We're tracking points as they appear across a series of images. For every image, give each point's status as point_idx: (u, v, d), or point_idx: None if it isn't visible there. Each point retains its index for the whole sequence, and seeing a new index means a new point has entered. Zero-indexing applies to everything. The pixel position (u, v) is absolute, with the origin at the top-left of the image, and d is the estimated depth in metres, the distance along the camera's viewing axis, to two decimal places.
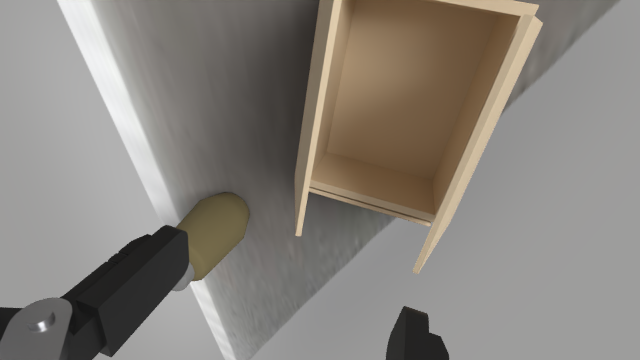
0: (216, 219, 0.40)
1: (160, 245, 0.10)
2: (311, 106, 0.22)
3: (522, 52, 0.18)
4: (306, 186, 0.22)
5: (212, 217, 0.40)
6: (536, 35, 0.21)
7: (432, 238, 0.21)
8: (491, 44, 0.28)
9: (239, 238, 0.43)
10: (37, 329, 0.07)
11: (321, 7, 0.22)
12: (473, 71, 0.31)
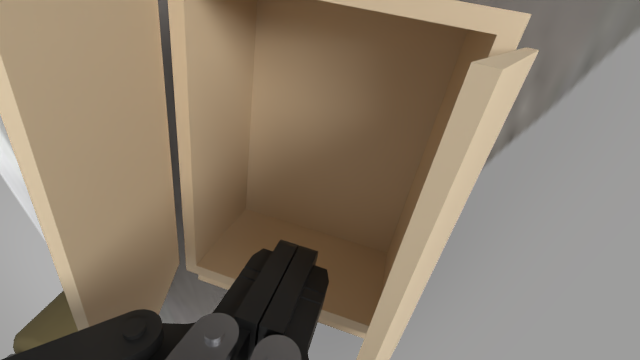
0: None
1: (285, 260, 0.11)
2: None
3: (488, 134, 0.07)
4: None
5: None
6: (526, 74, 0.11)
7: None
8: (457, 74, 0.17)
9: None
10: (217, 345, 0.08)
11: None
12: (435, 110, 0.20)
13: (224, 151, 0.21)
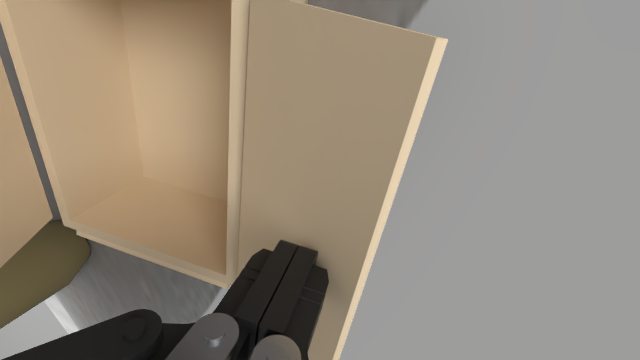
0: (10, 261, 0.31)
1: (285, 260, 0.11)
2: None
3: None
4: None
5: None
6: None
7: None
8: None
9: (59, 280, 0.35)
10: (216, 346, 0.08)
11: None
12: None
13: (93, 112, 0.23)
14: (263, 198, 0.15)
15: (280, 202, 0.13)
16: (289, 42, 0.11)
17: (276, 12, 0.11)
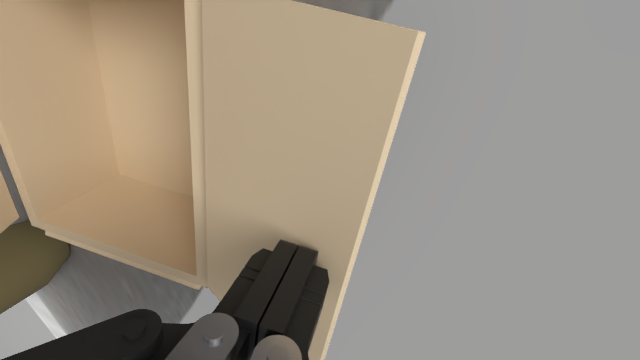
0: None
1: (285, 260, 0.11)
2: None
3: None
4: None
5: None
6: None
7: (323, 359, 0.14)
8: None
9: (36, 280, 0.34)
10: (216, 345, 0.08)
11: None
12: None
13: (59, 109, 0.22)
14: (233, 195, 0.15)
15: (256, 196, 0.13)
16: (255, 35, 0.11)
17: (236, 3, 0.11)
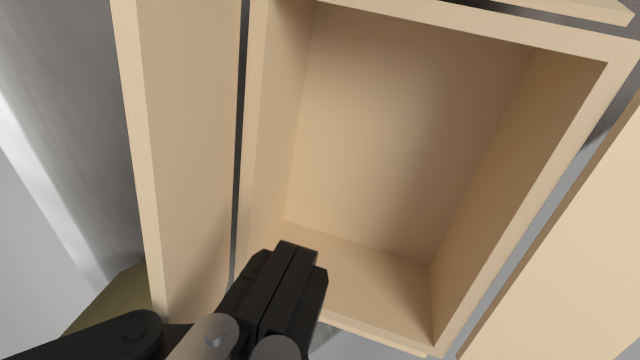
0: (132, 308, 0.29)
1: (285, 260, 0.11)
2: None
3: None
4: None
5: (127, 304, 0.29)
6: None
7: None
8: (529, 92, 0.17)
9: None
10: (217, 346, 0.08)
11: None
12: (494, 126, 0.20)
13: (276, 165, 0.21)
14: (578, 265, 0.15)
15: (620, 257, 0.15)
16: None
17: None
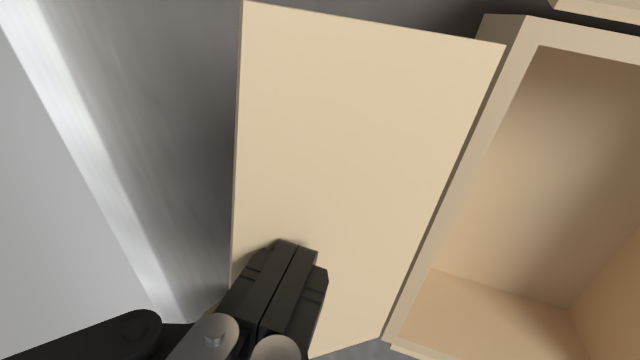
0: None
1: (285, 260, 0.11)
2: None
3: None
4: None
5: None
6: None
7: None
8: None
9: None
10: (217, 346, 0.08)
11: None
12: None
13: None
14: None
15: None
16: None
17: None
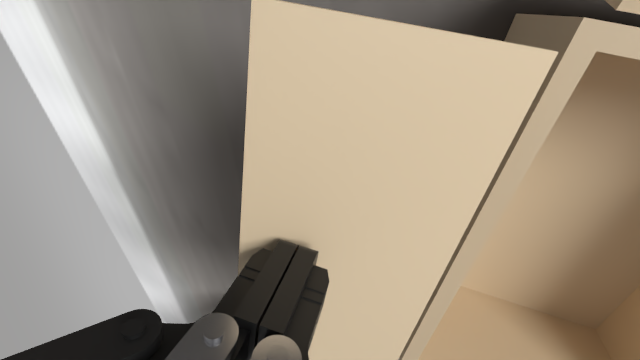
0: None
1: (285, 260, 0.11)
2: None
3: None
4: None
5: None
6: None
7: None
8: None
9: None
10: (216, 345, 0.08)
11: None
12: None
13: None
14: None
15: None
16: None
17: None
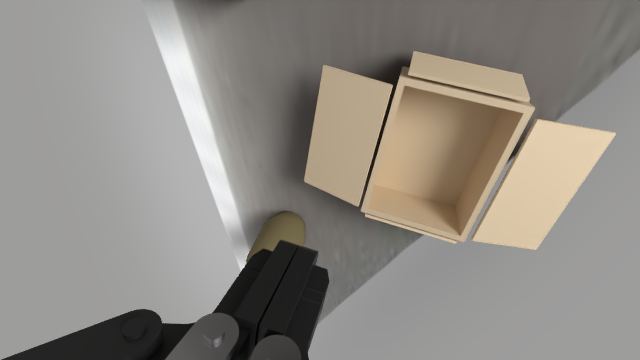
0: (287, 235, 0.52)
1: (285, 260, 0.11)
2: None
3: None
4: (309, 154, 0.45)
5: (284, 233, 0.52)
6: None
7: None
8: (502, 119, 0.39)
9: None
10: (216, 346, 0.08)
11: None
12: (488, 132, 0.43)
13: None
14: (521, 189, 0.38)
15: (537, 185, 0.37)
16: (560, 135, 0.34)
17: (555, 127, 0.34)
